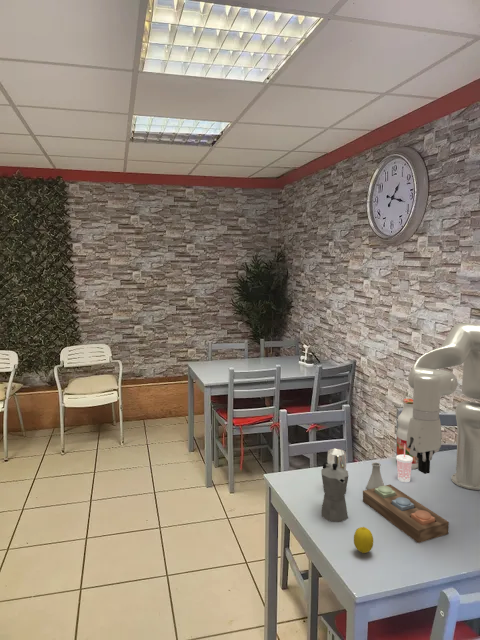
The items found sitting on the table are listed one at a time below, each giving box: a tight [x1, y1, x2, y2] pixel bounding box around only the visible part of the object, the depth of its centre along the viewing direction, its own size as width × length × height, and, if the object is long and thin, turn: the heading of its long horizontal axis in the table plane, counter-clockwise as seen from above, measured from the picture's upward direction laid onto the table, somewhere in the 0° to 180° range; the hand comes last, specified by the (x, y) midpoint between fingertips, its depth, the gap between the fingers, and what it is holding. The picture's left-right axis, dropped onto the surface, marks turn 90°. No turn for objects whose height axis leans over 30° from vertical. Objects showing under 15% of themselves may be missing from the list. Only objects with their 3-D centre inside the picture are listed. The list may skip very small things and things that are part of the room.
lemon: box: [353, 526, 374, 554], centre depth 133 cm, size 6×6×8 cm
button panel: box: [362, 484, 450, 544], centre depth 152 cm, size 12×27×4 cm, turn 22°
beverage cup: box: [396, 445, 413, 483], centre depth 178 cm, size 6×6×14 cm
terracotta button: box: [411, 510, 435, 526], centre depth 143 cm, size 5×5×3 cm
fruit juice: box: [396, 397, 418, 470], centre depth 190 cm, size 9×9×28 cm
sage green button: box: [375, 486, 396, 498], centre depth 160 cm, size 5×5×3 cm
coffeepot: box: [320, 461, 349, 523], centre depth 154 cm, size 15×9×18 cm, turn 13°
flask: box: [365, 461, 385, 490], centre depth 170 cm, size 7×7×10 cm
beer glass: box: [326, 448, 347, 470], centre depth 170 cm, size 7×7×15 cm
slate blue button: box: [392, 497, 414, 511], centre depth 152 cm, size 5×5×3 cm
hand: (423, 471), depth 141 cm, fingers closed
